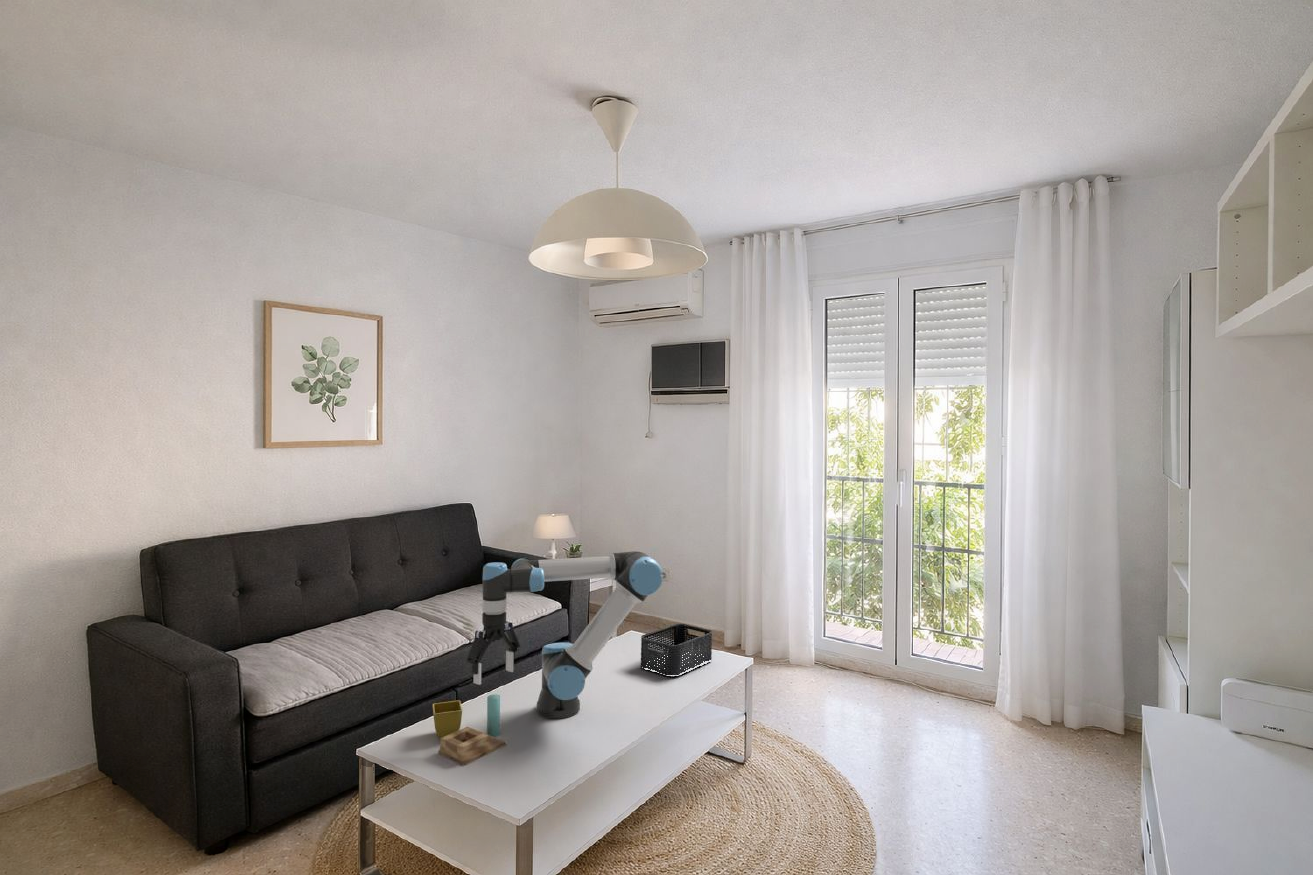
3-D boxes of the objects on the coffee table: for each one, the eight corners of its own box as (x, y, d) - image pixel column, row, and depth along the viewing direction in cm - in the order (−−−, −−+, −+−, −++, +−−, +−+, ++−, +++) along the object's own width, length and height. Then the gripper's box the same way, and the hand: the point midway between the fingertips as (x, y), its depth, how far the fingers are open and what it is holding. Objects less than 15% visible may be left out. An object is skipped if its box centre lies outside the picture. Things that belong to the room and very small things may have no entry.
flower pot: (432, 730, 223) (432, 703, 223) (460, 726, 226) (460, 699, 226) (433, 742, 215) (433, 713, 214) (462, 738, 218) (462, 710, 218)
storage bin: (678, 651, 304) (679, 621, 304) (715, 661, 292) (715, 630, 292) (636, 668, 282) (637, 636, 282) (674, 680, 270) (674, 646, 270)
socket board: (479, 734, 220) (480, 718, 220) (505, 744, 214) (505, 728, 213) (438, 753, 207) (438, 737, 207) (464, 765, 200) (464, 748, 200)
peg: (493, 729, 224) (494, 693, 224) (502, 732, 222) (502, 696, 221) (484, 734, 221) (484, 697, 220) (492, 737, 218) (493, 700, 218)
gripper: (514, 601, 233) (514, 663, 233) (455, 618, 212) (454, 686, 213) (530, 605, 228) (530, 668, 229) (471, 622, 208) (470, 691, 208)
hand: (493, 677), depth 221 cm, fingers open, 13 cm apart
